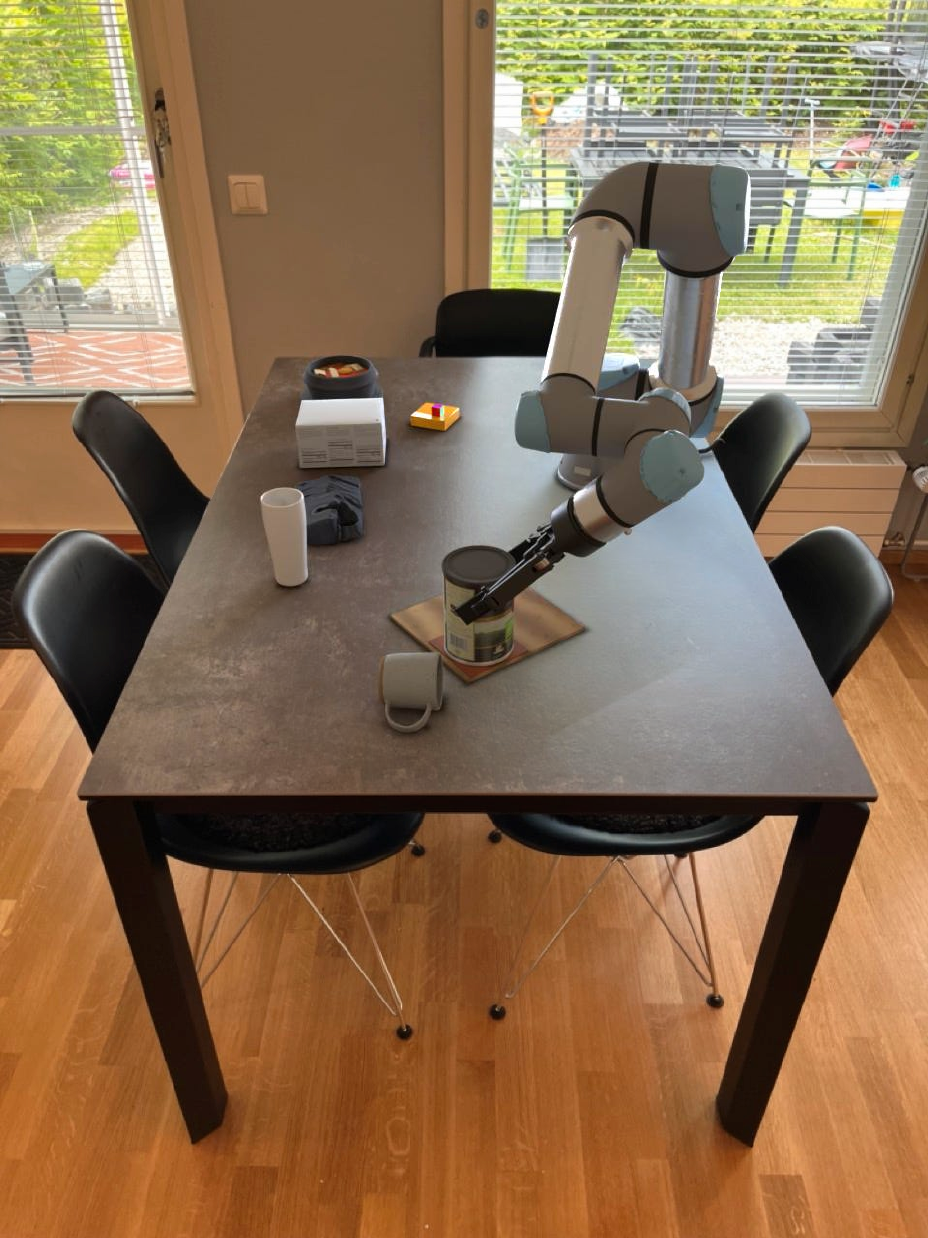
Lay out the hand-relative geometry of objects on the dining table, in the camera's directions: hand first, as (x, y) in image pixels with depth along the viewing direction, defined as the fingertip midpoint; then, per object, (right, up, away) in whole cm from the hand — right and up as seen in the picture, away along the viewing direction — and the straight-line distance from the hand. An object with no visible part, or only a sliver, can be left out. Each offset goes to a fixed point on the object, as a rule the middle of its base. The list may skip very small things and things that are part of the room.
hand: (481, 591), depth 136 cm
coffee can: (0, -8, +6) cm, 10 cm away
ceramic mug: (-9, -16, -5) cm, 19 cm away
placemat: (+1, -5, +11) cm, 12 cm away
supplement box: (-27, +30, +61) cm, 73 cm away
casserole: (-30, +45, +84) cm, 100 cm away
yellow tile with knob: (-9, +39, +75) cm, 85 cm away
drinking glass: (-31, +2, +22) cm, 38 cm away
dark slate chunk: (-28, +15, +40) cm, 51 cm away
